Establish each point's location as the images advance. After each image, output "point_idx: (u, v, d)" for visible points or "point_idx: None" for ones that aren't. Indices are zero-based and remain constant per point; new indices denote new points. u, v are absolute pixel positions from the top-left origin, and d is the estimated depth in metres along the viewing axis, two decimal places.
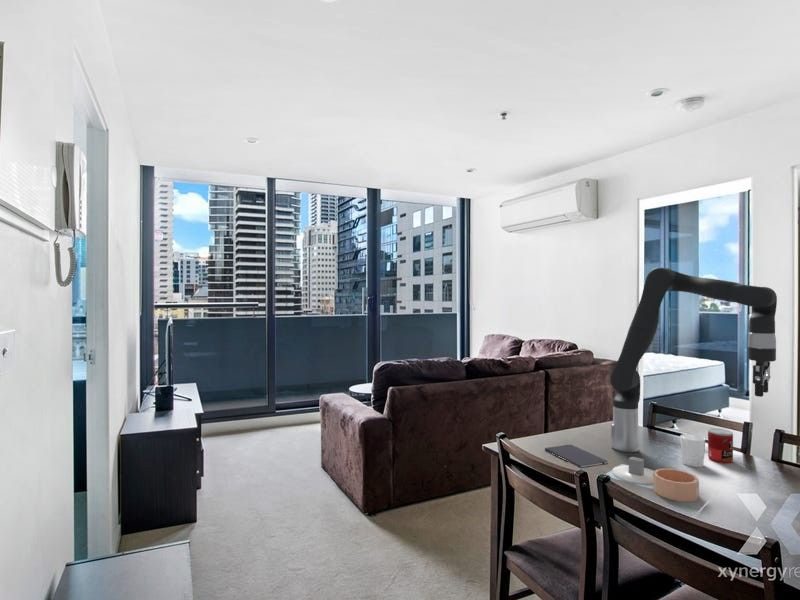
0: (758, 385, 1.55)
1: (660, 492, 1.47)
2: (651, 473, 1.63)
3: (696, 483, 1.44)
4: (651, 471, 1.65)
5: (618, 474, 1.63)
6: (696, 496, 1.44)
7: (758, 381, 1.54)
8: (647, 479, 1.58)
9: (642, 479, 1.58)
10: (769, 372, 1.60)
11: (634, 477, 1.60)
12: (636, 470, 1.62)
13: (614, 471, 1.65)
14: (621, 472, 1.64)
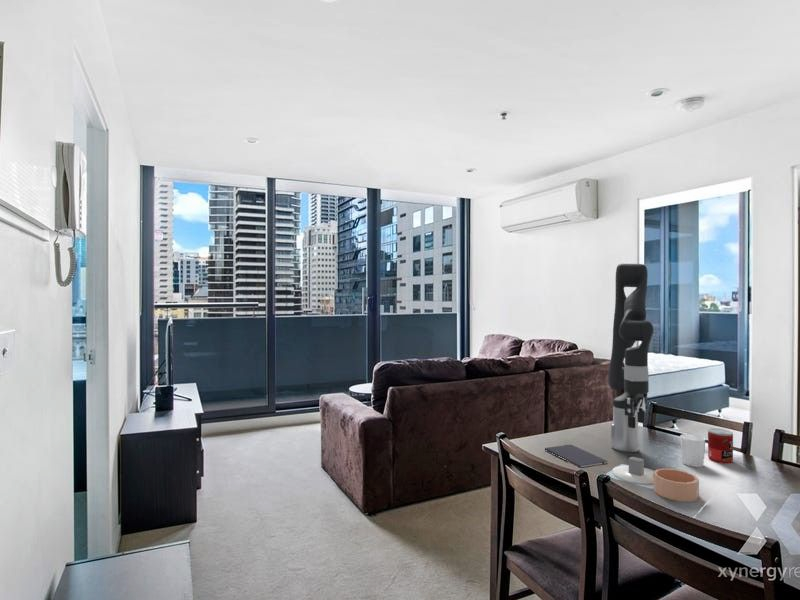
0: (630, 417, 1.59)
1: (660, 492, 1.47)
2: (651, 473, 1.63)
3: (696, 483, 1.44)
4: (651, 471, 1.65)
5: (618, 474, 1.63)
6: (696, 496, 1.44)
7: (629, 413, 1.58)
8: (647, 479, 1.58)
9: (642, 479, 1.58)
10: (644, 403, 1.64)
11: (634, 477, 1.60)
12: (636, 470, 1.62)
13: (614, 471, 1.65)
14: (621, 472, 1.64)
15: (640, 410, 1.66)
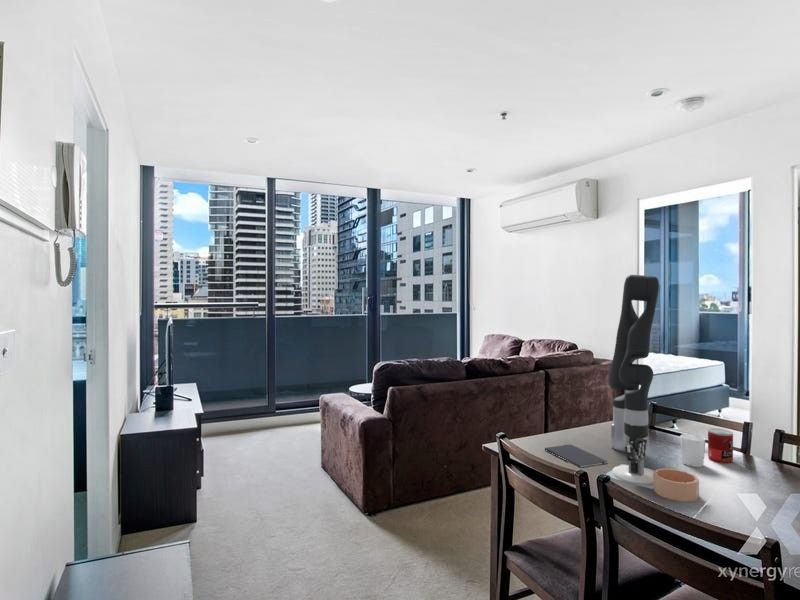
0: (633, 462, 1.61)
1: (660, 492, 1.47)
2: (651, 473, 1.63)
3: (696, 483, 1.44)
4: (651, 471, 1.65)
5: (618, 474, 1.63)
6: (696, 496, 1.44)
7: (632, 459, 1.60)
8: (647, 479, 1.58)
9: (642, 479, 1.58)
10: (643, 448, 1.63)
11: (634, 477, 1.60)
12: None
13: (614, 471, 1.65)
14: (621, 472, 1.64)
15: (637, 457, 1.65)
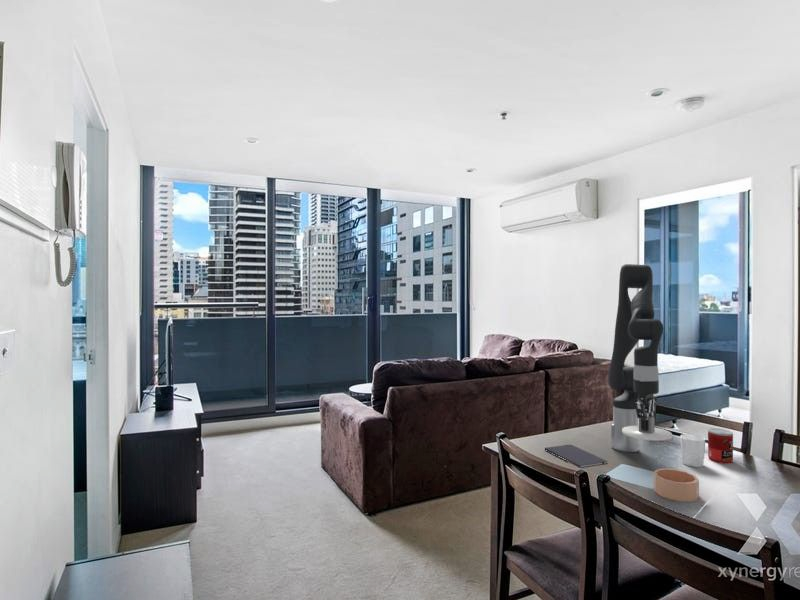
0: (643, 420, 1.57)
1: (660, 492, 1.47)
2: (661, 431, 1.59)
3: (696, 483, 1.44)
4: (662, 430, 1.60)
5: (628, 432, 1.58)
6: (696, 496, 1.44)
7: (642, 416, 1.56)
8: (658, 436, 1.53)
9: (653, 436, 1.54)
10: (653, 406, 1.59)
11: (644, 434, 1.55)
12: None
13: (624, 430, 1.61)
14: (630, 431, 1.60)
15: None
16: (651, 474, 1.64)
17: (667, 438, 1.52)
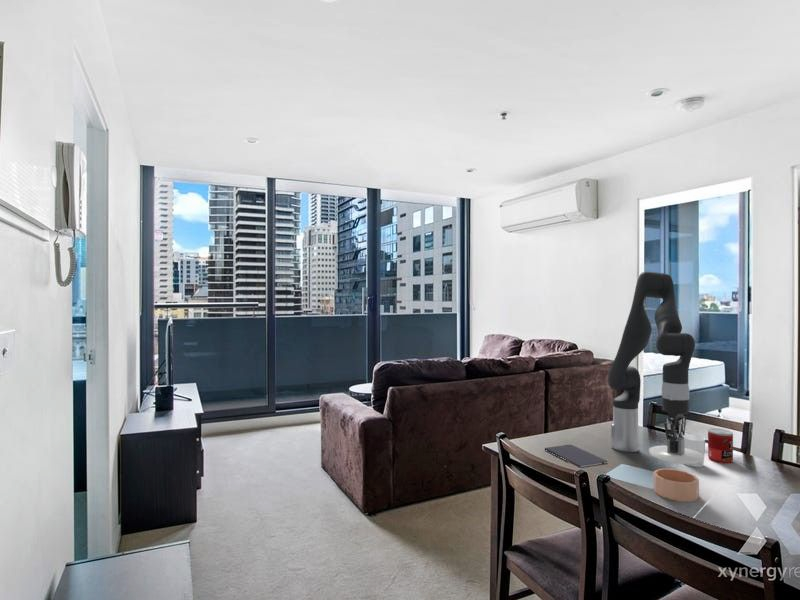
0: (672, 441, 1.47)
1: (660, 492, 1.47)
2: (691, 453, 1.49)
3: (696, 483, 1.44)
4: (692, 451, 1.51)
5: (656, 453, 1.48)
6: (696, 496, 1.44)
7: (672, 437, 1.46)
8: (689, 459, 1.44)
9: (684, 458, 1.44)
10: (683, 426, 1.49)
11: (674, 457, 1.45)
12: None
13: (651, 451, 1.51)
14: (659, 452, 1.50)
15: None
16: (651, 474, 1.64)
17: (699, 461, 1.42)
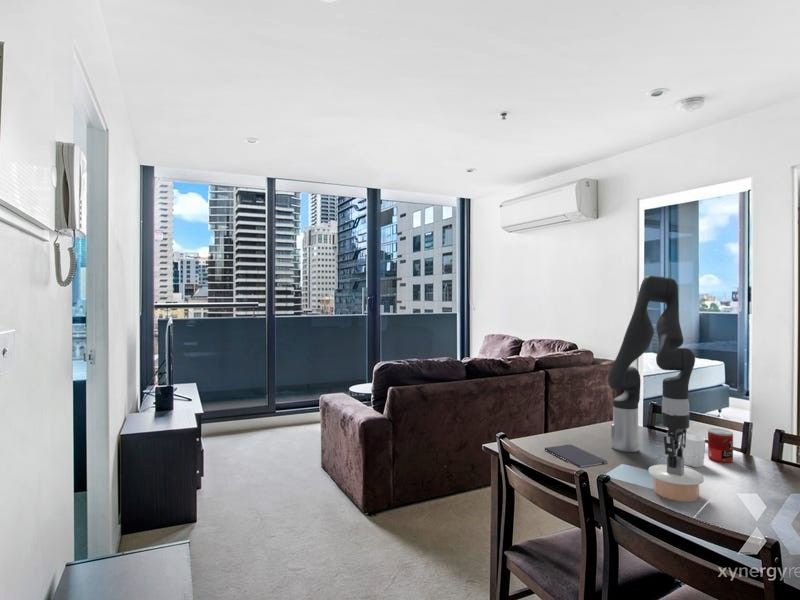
0: (671, 456, 1.46)
1: (660, 492, 1.47)
2: (691, 473, 1.49)
3: None
4: (691, 471, 1.51)
5: (656, 473, 1.49)
6: (696, 496, 1.44)
7: (670, 452, 1.45)
8: (689, 479, 1.44)
9: (683, 479, 1.44)
10: (683, 440, 1.49)
11: (674, 477, 1.46)
12: (675, 470, 1.48)
13: (650, 470, 1.51)
14: (658, 472, 1.50)
15: (677, 449, 1.51)
16: None
17: (699, 482, 1.42)
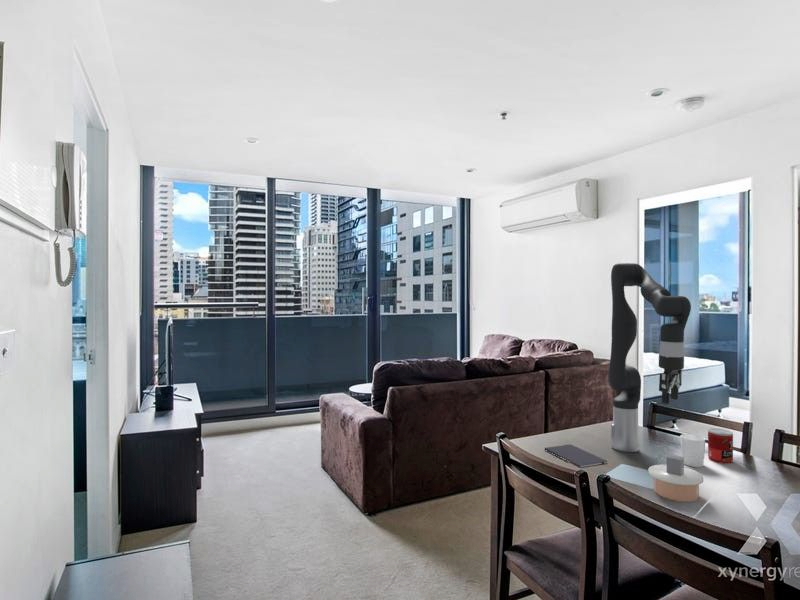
0: (664, 393, 1.58)
1: (660, 492, 1.47)
2: (691, 473, 1.49)
3: None
4: (691, 471, 1.51)
5: (655, 473, 1.49)
6: (696, 496, 1.44)
7: (663, 389, 1.57)
8: (688, 479, 1.44)
9: (683, 479, 1.44)
10: (678, 380, 1.62)
11: (673, 477, 1.46)
12: (675, 470, 1.48)
13: (650, 471, 1.51)
14: (658, 472, 1.50)
15: (674, 386, 1.65)
16: None
17: (698, 482, 1.42)
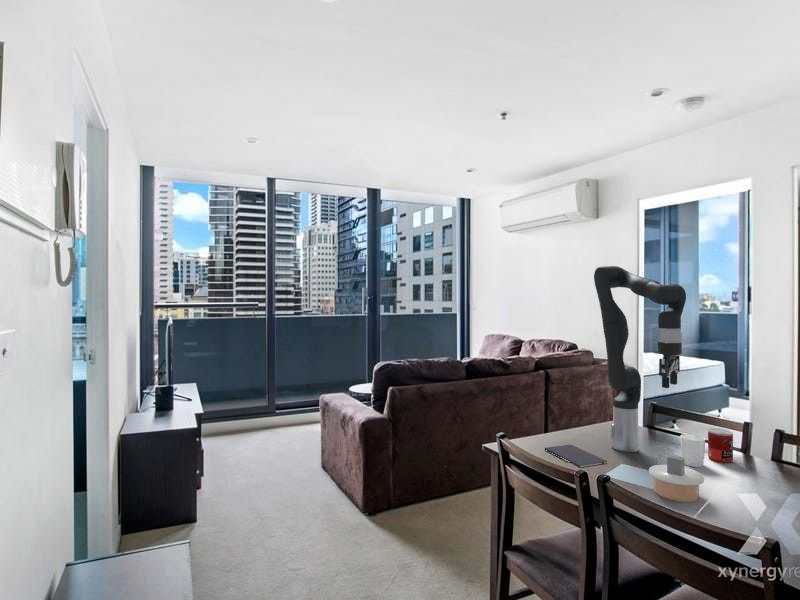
0: (664, 377, 1.65)
1: (660, 492, 1.47)
2: (692, 473, 1.49)
3: None
4: (692, 471, 1.50)
5: (656, 474, 1.49)
6: (696, 496, 1.44)
7: (663, 373, 1.64)
8: (689, 480, 1.44)
9: (683, 479, 1.44)
10: (677, 365, 1.69)
11: (674, 477, 1.45)
12: (675, 470, 1.48)
13: (651, 471, 1.51)
14: (659, 472, 1.50)
15: (673, 372, 1.72)
16: None
17: (699, 482, 1.42)
